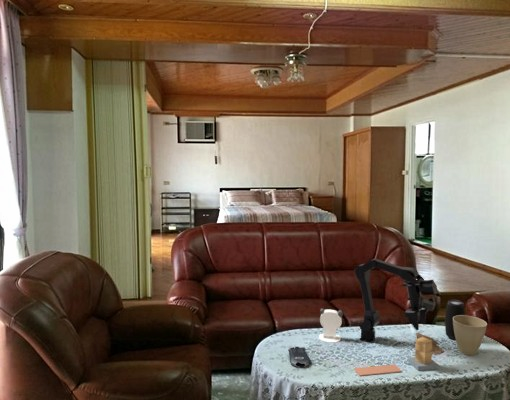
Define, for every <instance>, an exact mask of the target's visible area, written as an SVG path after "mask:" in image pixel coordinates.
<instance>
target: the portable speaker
mask: <svg viewBox="0 0 510 400" xmlns="http://www.w3.org/2000/svg"><path fill="white" fill-rule="evenodd" d="M458 315H466V310H465V303H464V302H462V301H461V300H458V299H451V300H447V304H446V308H445V315H444V316H445V319H444V329H445V335H446V337H447V338H448V339H449V340H452V341H456V338H455V333H454V327H453V317H454V316H458Z"/></svg>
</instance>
